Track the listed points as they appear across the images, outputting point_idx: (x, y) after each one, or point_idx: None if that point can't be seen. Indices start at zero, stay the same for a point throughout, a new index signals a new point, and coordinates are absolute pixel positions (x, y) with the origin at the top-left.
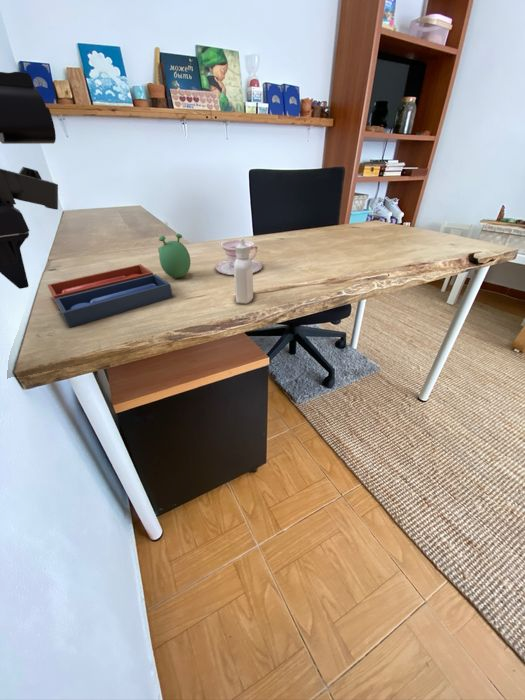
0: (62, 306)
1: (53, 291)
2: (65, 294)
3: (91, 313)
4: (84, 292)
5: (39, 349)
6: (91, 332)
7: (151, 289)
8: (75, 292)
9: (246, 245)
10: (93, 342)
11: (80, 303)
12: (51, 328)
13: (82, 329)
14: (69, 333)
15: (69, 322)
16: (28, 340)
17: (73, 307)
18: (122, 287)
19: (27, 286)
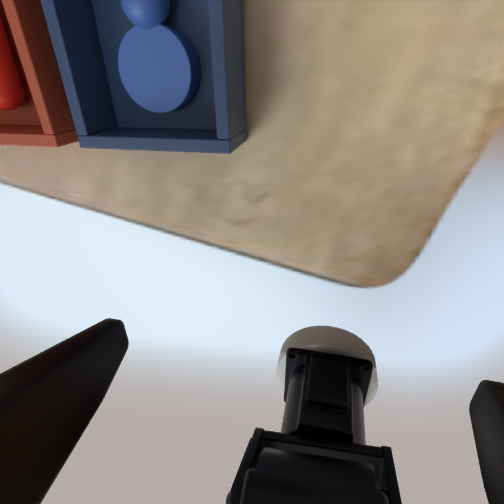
0: (167, 141)
1: (9, 137)
2: (47, 103)
3: (236, 45)
4: (58, 23)
5: (325, 237)
6: (337, 83)
7: None
8: (35, 61)
9: None
10: (422, 97)
11: (120, 64)
12: (216, 185)
13: (289, 106)
14: (287, 150)
15: (241, 137)
16: (252, 245)
17: (146, 99)
18: None
19: (501, 386)
